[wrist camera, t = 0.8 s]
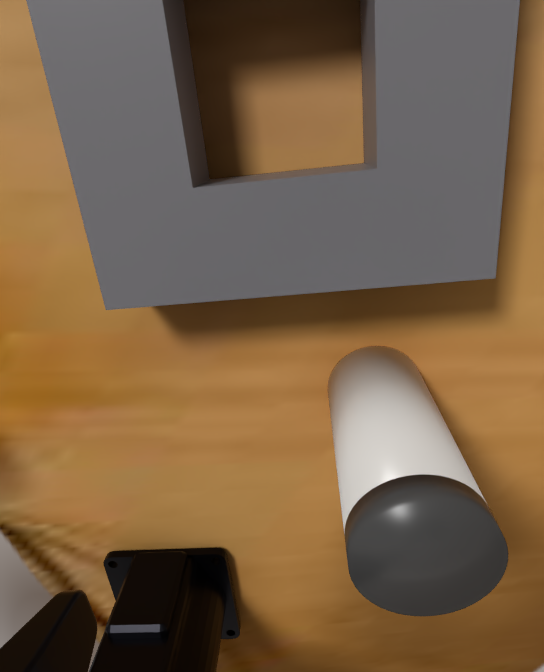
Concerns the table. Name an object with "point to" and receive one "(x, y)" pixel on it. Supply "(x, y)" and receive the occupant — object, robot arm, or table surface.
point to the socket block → (290, 186)
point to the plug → (407, 492)
